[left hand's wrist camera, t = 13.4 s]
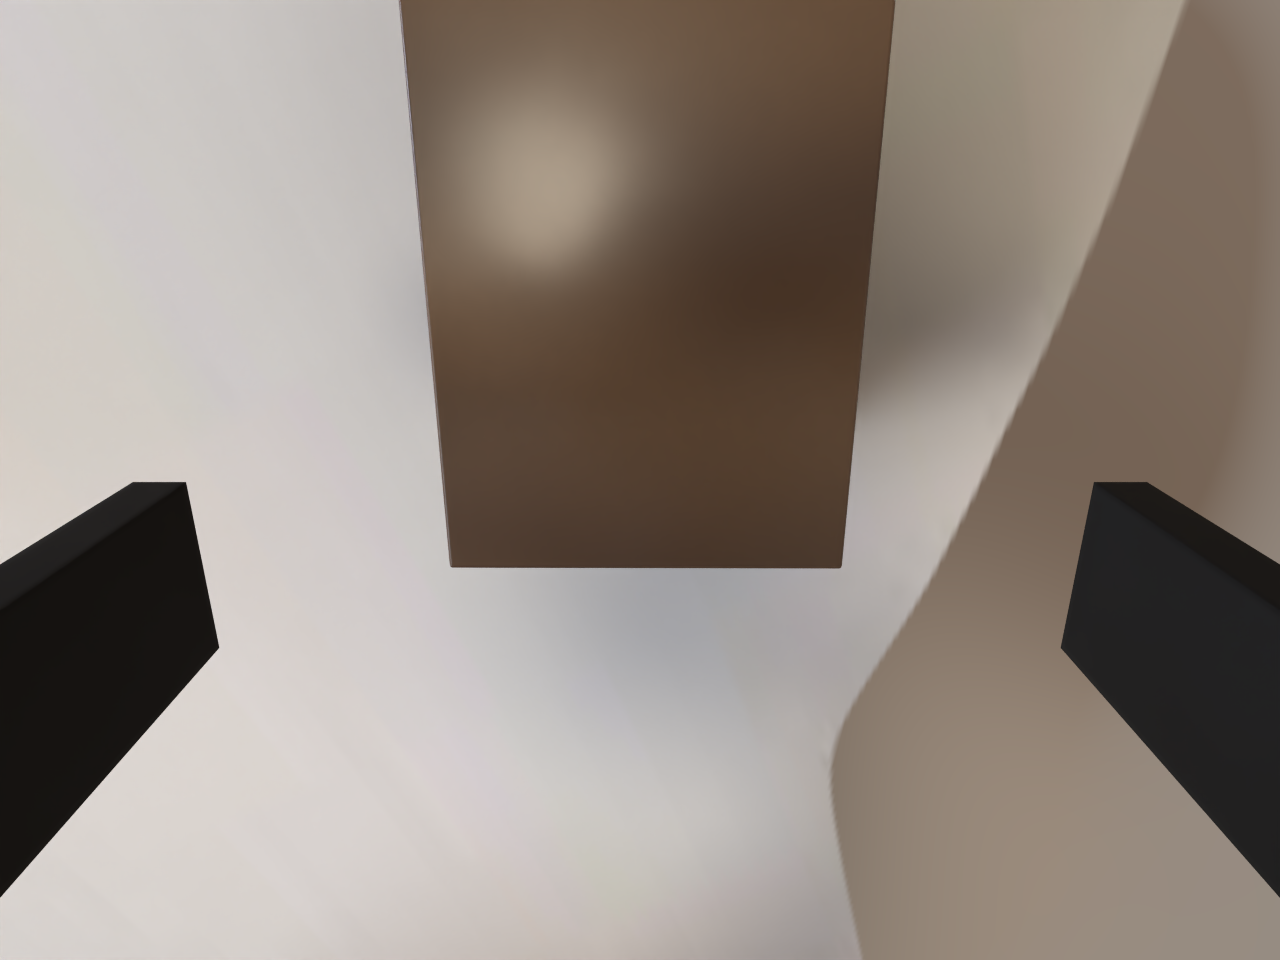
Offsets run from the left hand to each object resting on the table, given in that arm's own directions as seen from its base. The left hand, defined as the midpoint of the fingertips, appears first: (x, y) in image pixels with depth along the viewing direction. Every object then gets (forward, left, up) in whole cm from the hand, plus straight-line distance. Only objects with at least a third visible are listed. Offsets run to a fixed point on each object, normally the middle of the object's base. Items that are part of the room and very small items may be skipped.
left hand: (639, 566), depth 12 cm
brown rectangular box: (+5, -1, -18) cm, 19 cm away
